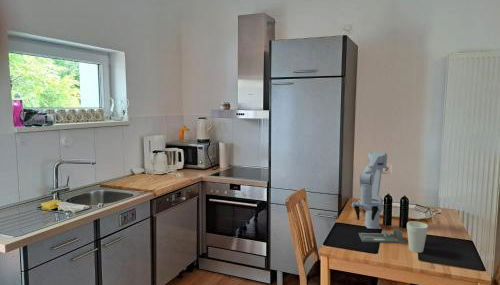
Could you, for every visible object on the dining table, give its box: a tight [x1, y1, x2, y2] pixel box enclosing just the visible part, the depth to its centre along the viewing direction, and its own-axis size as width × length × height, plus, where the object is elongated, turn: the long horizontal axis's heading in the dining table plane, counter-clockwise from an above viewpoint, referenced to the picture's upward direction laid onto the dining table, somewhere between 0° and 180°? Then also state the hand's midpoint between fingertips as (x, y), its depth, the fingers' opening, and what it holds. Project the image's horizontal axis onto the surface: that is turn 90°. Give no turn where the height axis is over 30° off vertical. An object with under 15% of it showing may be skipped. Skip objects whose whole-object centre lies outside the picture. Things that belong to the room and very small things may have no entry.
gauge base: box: [358, 228, 407, 244], centre depth 186 cm, size 10×22×4 cm, turn 85°
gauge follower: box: [381, 230, 391, 237], centre depth 184 cm, size 6×3×2 cm, turn 175°
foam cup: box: [406, 220, 429, 254], centre depth 171 cm, size 10×9×13 cm
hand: (365, 219), depth 188 cm, fingers open, 7 cm apart
